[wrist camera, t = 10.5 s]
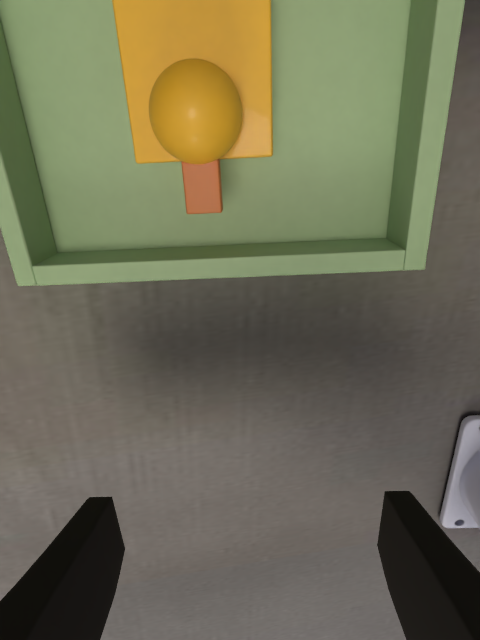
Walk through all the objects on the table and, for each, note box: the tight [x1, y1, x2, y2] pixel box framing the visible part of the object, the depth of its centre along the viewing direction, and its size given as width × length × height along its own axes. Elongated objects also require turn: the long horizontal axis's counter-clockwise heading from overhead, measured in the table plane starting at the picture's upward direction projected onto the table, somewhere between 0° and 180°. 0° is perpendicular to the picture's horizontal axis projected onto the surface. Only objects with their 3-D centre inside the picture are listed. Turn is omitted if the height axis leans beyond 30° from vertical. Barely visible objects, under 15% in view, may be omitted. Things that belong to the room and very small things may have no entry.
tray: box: [0, 0, 465, 286], centre depth 13 cm, size 16×15×3 cm
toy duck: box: [112, 0, 273, 214], centre depth 11 cm, size 9×4×5 cm, turn 3°
